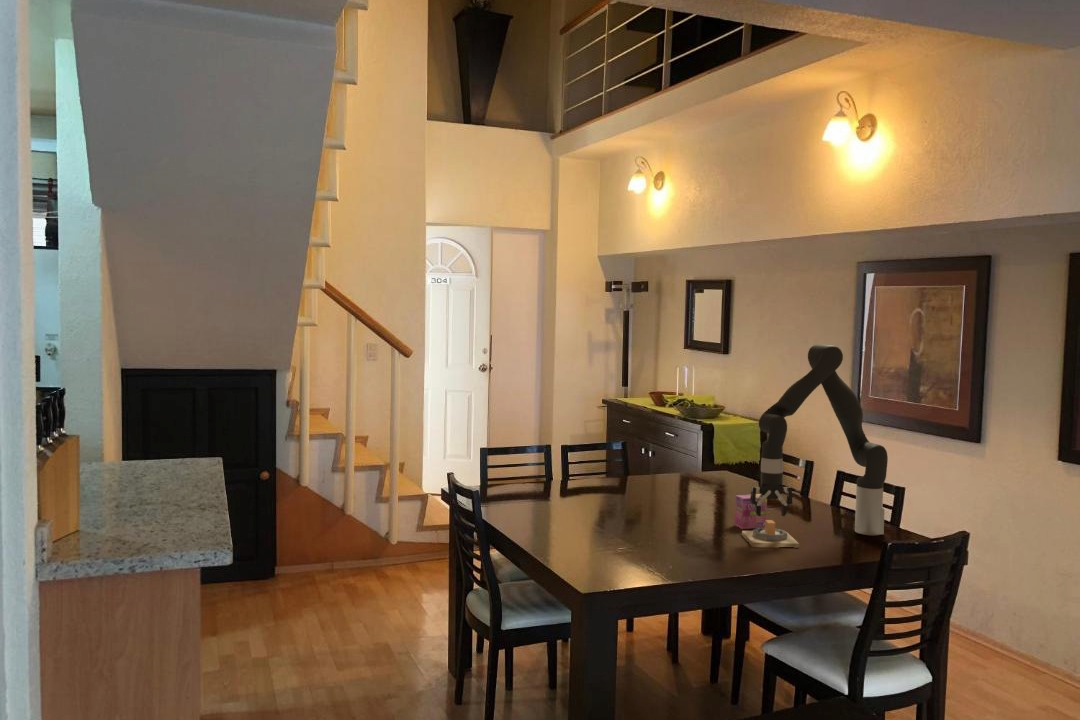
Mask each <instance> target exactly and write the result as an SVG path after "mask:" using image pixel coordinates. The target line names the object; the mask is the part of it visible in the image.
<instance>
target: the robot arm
mask: <svg viewBox="0 0 1080 720" xmlns="http://www.w3.org/2000/svg"><path fill="white" fill-rule="evenodd" d="M843 354H844V353H843V351H842V350H841V348H839V347H838V346H837V345H832V344H830V345H829V344H822V343H821V344H813V345H812V346H811V347H810V348H809V349H808V352H807V360H808V363H809V365H810V368H811V370H810V371H809V372H808V373H806V374H805V375H804V376H802V377H801V378H799V380H797V381H795V382H793V384H791V385H790V386H789V387H788V388H787V389H786V391H785V392H784V393H783V395H782V396H781V397H780V398H779V400H778V401H777V402H776V403H774V404H773V405H771V406H770V407H769V408H768V409H766V410H765V411H764V412H763V413H762V414H761V415H760V417H759V420H758V428H759V430H760V431H762V432H763V433H766V434H768V438H767V440H765V441H763V443H762V445H761V462H760V485H759V486H754V485H751V487H750V488H751V489H750V495H751V497H750V502H751V503H752V504H755V505H756V514H757V515H758V516H761V506H760V505H761V503H762V502H763V501H764V500H765V499H767V500H777V499H778V500H779V502H780V503H781V506H780V507H781V513H780V514H781V517H786V515H787V514H788V512H787V511H788V510H787V509H788V506H789V505H792V504H793V488H792V487H791V486H789V485H787V486H783V484H784V478H783V477H784V463H783V453H784V452H783V450H784V449H783V446H784V444H785V440H786V436H787V432H788V423H787V419H786V417H791V416H793V415H794V414H795V413H796V412H797V411H798V410H799V408H800V407H801V406H802V405H803V404H804V402H805V401H806V400H807V398H808V397H809V396H810V395H811V394H812V393H813V392H814V391H815V390H816V389H817V388H818V387H819V386H820V385H821V386H822V388H823V391H824V392H825V395H826V397H827V398H828V401H829V404H830V405H831V408H832V410H833V412H834V414H835V417H836V418H837V420H838V422H839V424H840V427H841V429H842V431H843V434H844V436H845V438H846V441H847V443H848V446H849V449H850V453H851V454H852V458H853V460H854V462H855V463H856V464H857V465H859V466H860V467H863V468H865V471H864V474H863V475H862V476H859V477H857V478H856V491H855V495H856V496H855V514H854V515H855V516H854V517H855V518H854V532H855V533H856V534H859V535H866V536H880V535H884V534H885V533H884V531H885V510H886V509H885V508H883V504H884V503H883V502H884V501H883V500H884V484H885V481H886V479H887V472H888V471H887V470H888V460H889V459H888V451H887V449H886V448H885V446H883V445H882V444H881V445H880V444H878V443H873V442H870V441H869V440H868V438H867V435H866V434H865V431H864V430H863V418H864V415H863V414H864V413H863V412H864V411H863V408H862V406H861V404H860V402H859V399H858V397H857V395H856V394H855V392H854V391H853V389H851V388H850V387H849V386H848V384H846V383H845V382H844V380H842V378H841V377H840V375H838V373H837V371H836V370H838V369H839V367H840V366H841V364H842V363H843V360H844V355H843ZM758 492H760V494H761V495H760V496H759V498H758V499H757V501H755V499H756V494H759V493H758ZM783 492H784V493H785V494H786V500H785V499H784V497H783V495H782V494H783Z"/></svg>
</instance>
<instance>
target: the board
mask: <svg viewBox="0 0 1080 720" xmlns="http://www.w3.org/2000/svg"><path fill="white" fill-rule="evenodd" d="M784 531H785V532H786V533H787V539H785V540H783V541H765V540H761V539H756V538H755V537H754V536H753V530H742V531H741V536H742V537H743V538H744V539H745V541H746V542H747V543H748V542H749V543H748V544H749V545H750V546H751V548H779V547H794V549H795V548H796V549H797V548H798V549H799V548H800V543H799V542H798V541H797V540H796V539H795V538H794V537H793V536H792V535H790V534H789V533H788V532H787V531H786V530H784Z"/></svg>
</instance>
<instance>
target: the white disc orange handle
mask: <svg viewBox="0 0 1080 720" xmlns="http://www.w3.org/2000/svg"><path fill="white" fill-rule="evenodd" d="M775 528H776V522H775V521H774V520H773V519H766V520H765V530H762V531H760V533H764V534H769V535H779V534H780V533H779V532H777V531H775Z"/></svg>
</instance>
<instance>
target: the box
mask: <svg viewBox="0 0 1080 720" xmlns="http://www.w3.org/2000/svg"><path fill="white" fill-rule="evenodd" d="M760 495H761V493H756V499H755V501H757V499H758V498H759V496H760ZM750 497H751V494H738V495H737V494H736V495H735V499H734V500H735V508H734V526H735V527H736V528H738V527H739V528H738V529H740V530H747V529H748V530H749V529H756V528H759V527H765V520H767V513H768V512H767V507H768V499H765V500H764V501H763V502H762V503H761V505H760V506H761V516H758V515H757V514H756V505H755V504H752V503H751V502H750Z"/></svg>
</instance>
